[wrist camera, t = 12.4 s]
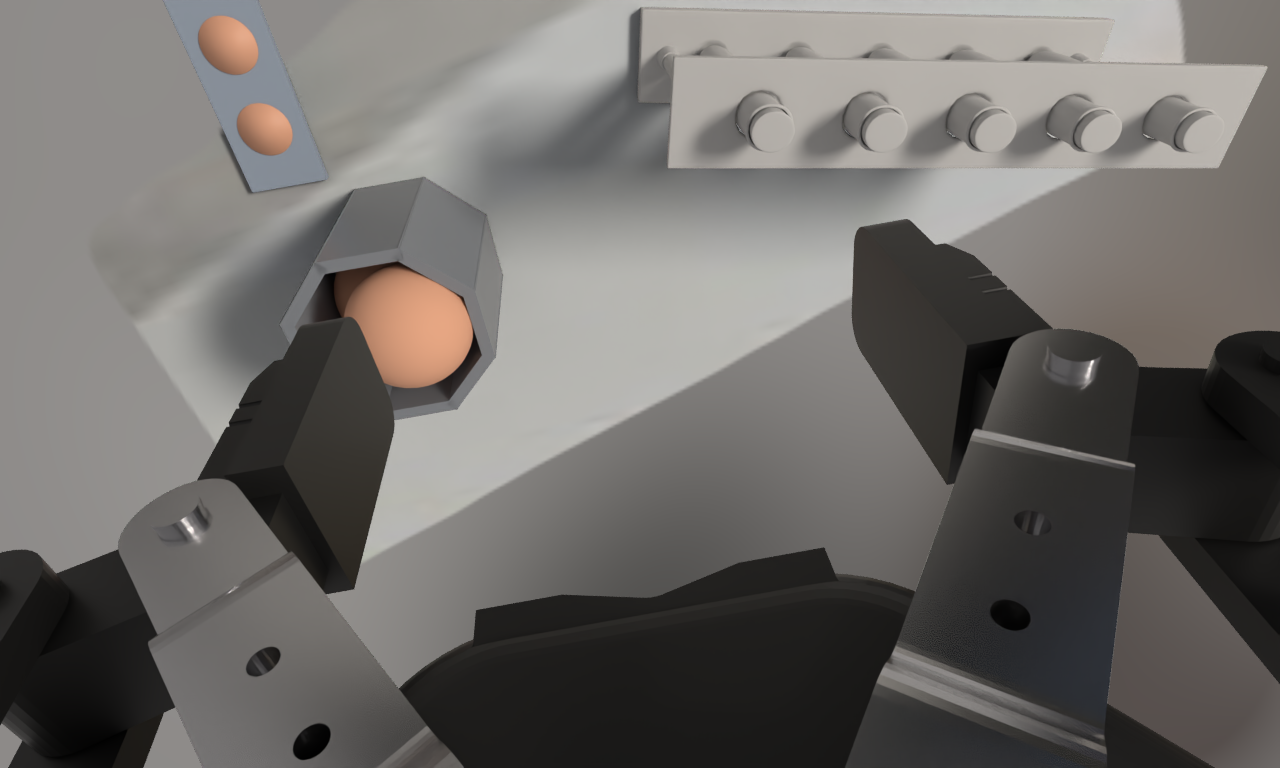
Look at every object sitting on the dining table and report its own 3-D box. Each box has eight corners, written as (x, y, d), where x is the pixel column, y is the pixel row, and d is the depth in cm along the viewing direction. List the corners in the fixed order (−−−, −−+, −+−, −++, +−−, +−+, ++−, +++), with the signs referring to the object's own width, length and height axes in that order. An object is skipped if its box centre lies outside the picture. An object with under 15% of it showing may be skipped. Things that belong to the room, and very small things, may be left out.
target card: (158, -19, 34) (153, -18, 34) (245, -34, 34) (241, -33, 34) (254, 189, 40) (252, 193, 39) (328, 177, 40) (326, 179, 40)
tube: (305, 197, 40) (253, 272, 33) (473, 167, 40) (458, 236, 33) (365, 339, 46) (332, 431, 38) (513, 313, 46) (509, 400, 39)
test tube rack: (636, 99, 39) (673, 190, 29) (640, 6, 37) (681, 68, 26) (1075, 103, 42) (1257, 187, 31) (1106, 17, 40) (1316, 77, 29)
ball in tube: (348, 215, 42) (292, 278, 38) (445, 213, 40) (398, 278, 36) (388, 301, 46) (341, 367, 42) (477, 302, 44) (438, 370, 40)
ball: (295, 298, 34) (376, 277, 31) (390, 259, 39) (470, 236, 36) (351, 413, 36) (433, 405, 33) (435, 363, 41) (515, 351, 38)
